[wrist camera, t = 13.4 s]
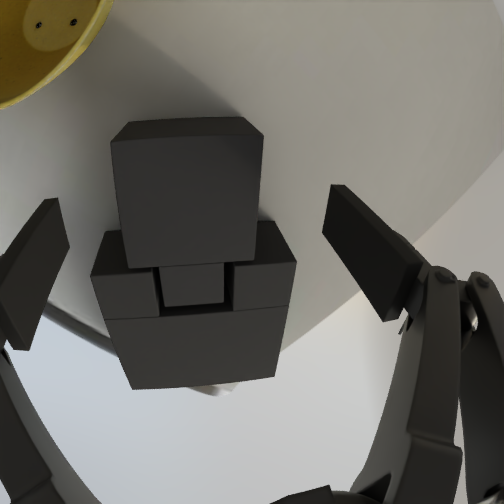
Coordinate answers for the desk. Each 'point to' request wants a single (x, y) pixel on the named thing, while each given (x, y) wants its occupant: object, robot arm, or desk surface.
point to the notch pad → (197, 317)
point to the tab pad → (188, 200)
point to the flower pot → (43, 41)
